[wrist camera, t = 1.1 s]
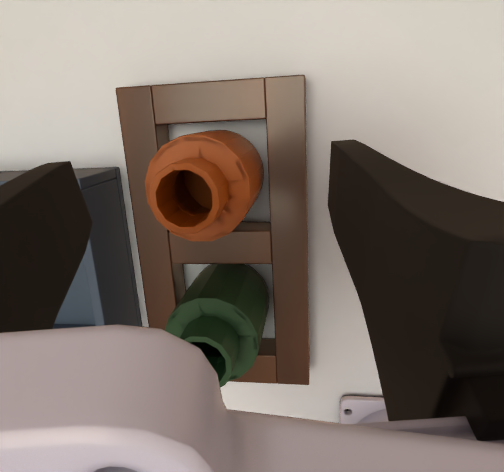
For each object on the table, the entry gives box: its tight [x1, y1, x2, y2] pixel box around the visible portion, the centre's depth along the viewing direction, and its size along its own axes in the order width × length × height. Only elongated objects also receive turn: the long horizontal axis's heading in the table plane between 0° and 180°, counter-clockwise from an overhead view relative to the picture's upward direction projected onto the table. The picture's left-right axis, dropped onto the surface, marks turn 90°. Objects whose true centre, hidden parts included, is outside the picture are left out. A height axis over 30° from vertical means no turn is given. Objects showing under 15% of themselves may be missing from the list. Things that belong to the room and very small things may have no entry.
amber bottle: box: [145, 130, 263, 241], centre depth 21 cm, size 5×5×8 cm
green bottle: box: [165, 264, 269, 387], centre depth 23 cm, size 5×5×8 cm
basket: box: [0, 167, 142, 329], centre depth 25 cm, size 11×11×4 cm
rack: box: [116, 75, 309, 385], centre depth 24 cm, size 10×18×2 cm, turn 3°
